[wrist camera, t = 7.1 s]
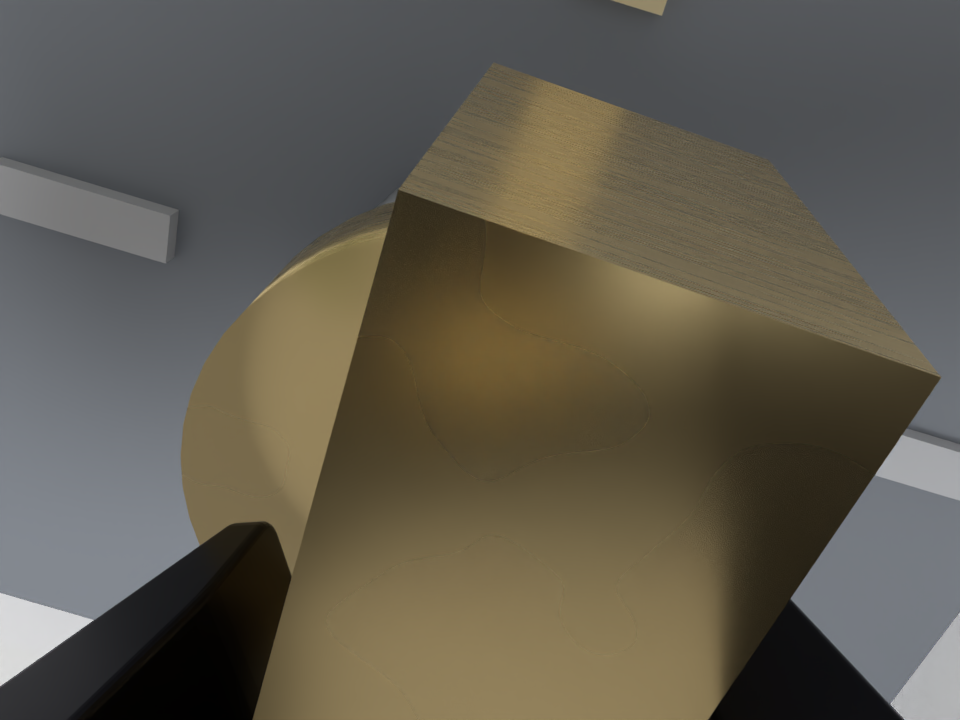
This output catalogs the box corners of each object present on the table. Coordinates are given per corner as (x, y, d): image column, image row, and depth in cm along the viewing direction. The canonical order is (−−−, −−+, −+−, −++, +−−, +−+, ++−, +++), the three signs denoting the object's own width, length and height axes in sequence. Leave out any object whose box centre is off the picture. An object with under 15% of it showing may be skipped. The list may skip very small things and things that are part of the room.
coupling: (931, 193, 8) (1382, 534, 4) (588, 764, 12) (588, 1254, 8) (310, -28, 8) (-89, 25, 3) (180, 633, 12) (-70, 1060, 8)
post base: (789, 780, 18) (836, 983, 15) (-2, 551, 18) (-147, 702, 14) (1447, -135, 10) (1924, -173, 6) (-17, -602, 10) (-372, -915, 6)
